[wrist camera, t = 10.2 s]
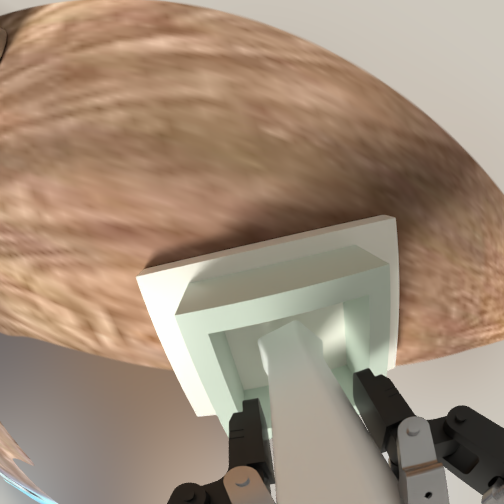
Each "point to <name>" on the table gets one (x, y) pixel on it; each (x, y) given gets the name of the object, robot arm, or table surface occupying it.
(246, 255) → the stand
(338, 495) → the perfume bottle
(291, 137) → the table surface
